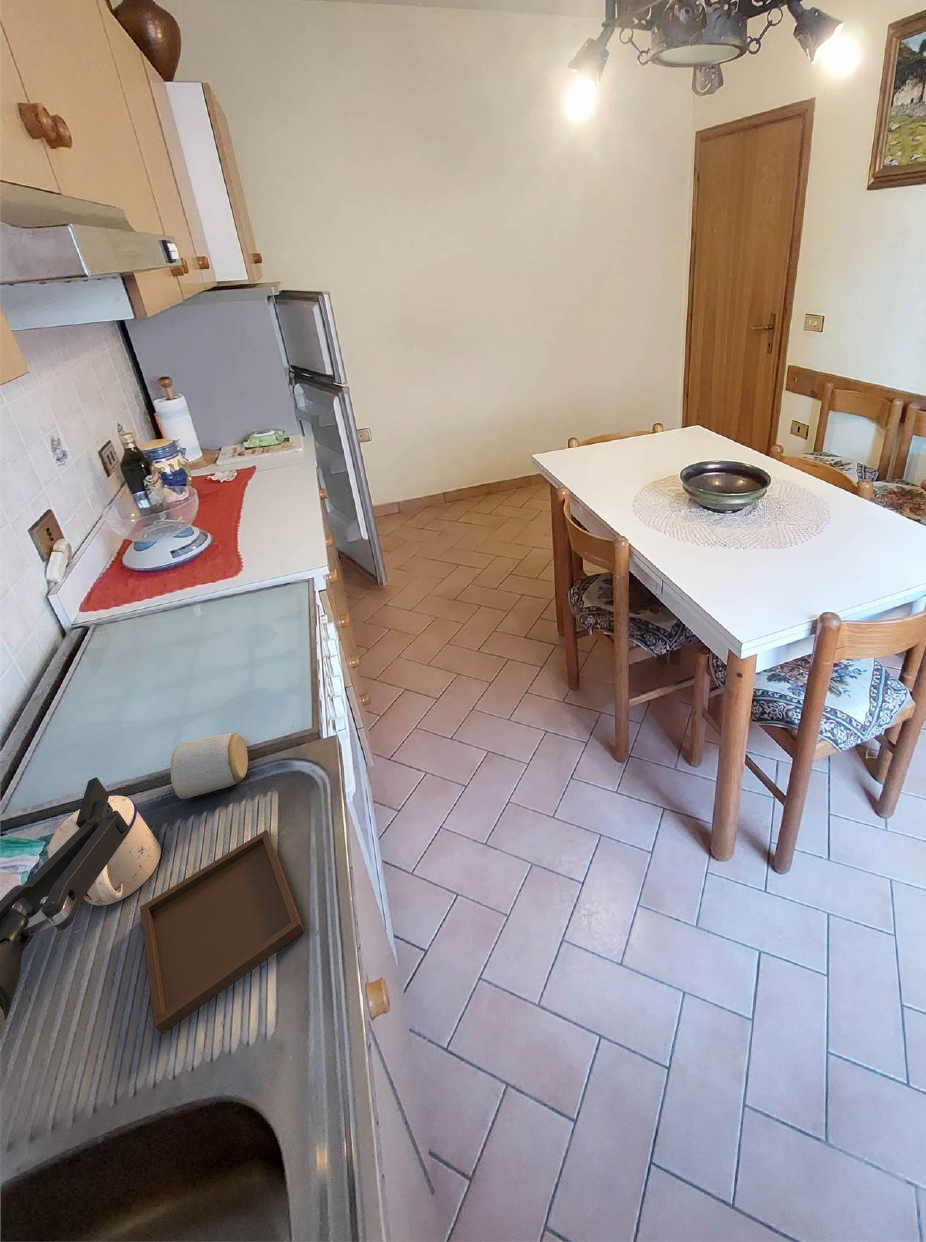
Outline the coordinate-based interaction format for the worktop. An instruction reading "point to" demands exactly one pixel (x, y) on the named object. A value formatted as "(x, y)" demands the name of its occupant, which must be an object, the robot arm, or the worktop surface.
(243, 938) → the rectangular tray
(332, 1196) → the worktop surface
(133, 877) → the teacup with lid
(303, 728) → the worktop surface
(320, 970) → the worktop surface
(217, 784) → the ceramic mug
